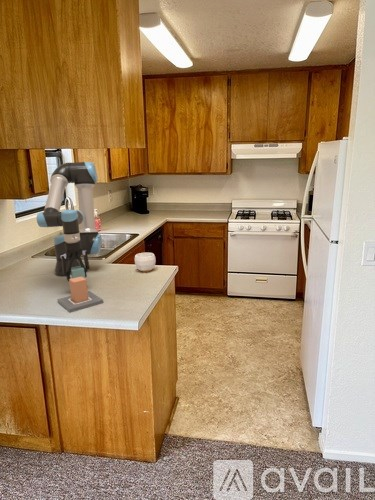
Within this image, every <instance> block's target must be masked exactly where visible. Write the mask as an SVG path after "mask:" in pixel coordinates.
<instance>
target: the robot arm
mask: <svg viewBox="0 0 375 500" xmlns="http://www.w3.org/2000/svg"><path fill="white" fill-rule="evenodd" d="M49 180H50V187H49V190H48V195H47V198H46V201H45V206H44V210H43V211H42V212H38V213H37V214H36V223H37V225H38V227H40V228H56V227H62V231H63V233H62V234H59V235H57V236H55V237H54V239H53V242H54V243H53V245H54V251H55V258H56V260H55V261H56V263H55V268H54V275H56V276H58V277H66V281H67V282H68V283H69V279H72V275H71V274H70V272H71V268H72V267H76V266H81V267H82V268H84V273H85V279H86V278H87V277H88V275H87V272H88V271H89V270H90V269H91V267H90V263H89V258H88V257H89V255H90V256H91V255H98V254H99V253H100V251H101V249H102V235H101V234H100V233H99V231H98V230H97V229H96V219H95V205H94V203H95V202H94V190H93V189H94V187H96V183H97V182H98V181H99V180H98V173H97V169H96V166H95V164H94V163H93V162H92V161H91V162H90V161H79V162H76V161H75V162H63V163H62V164H61V165H59V166H57V167H55V169H54V171H53V172H52V174H51V175H50V179H49ZM68 184H74V187H75V188H76V189H77V201H78V209H65V210H62V211H61V206H62V202H63V197H64V193H65V190H66V187H67V186H68ZM82 256H83V259H82ZM83 261H84V262H83Z"/></svg>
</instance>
